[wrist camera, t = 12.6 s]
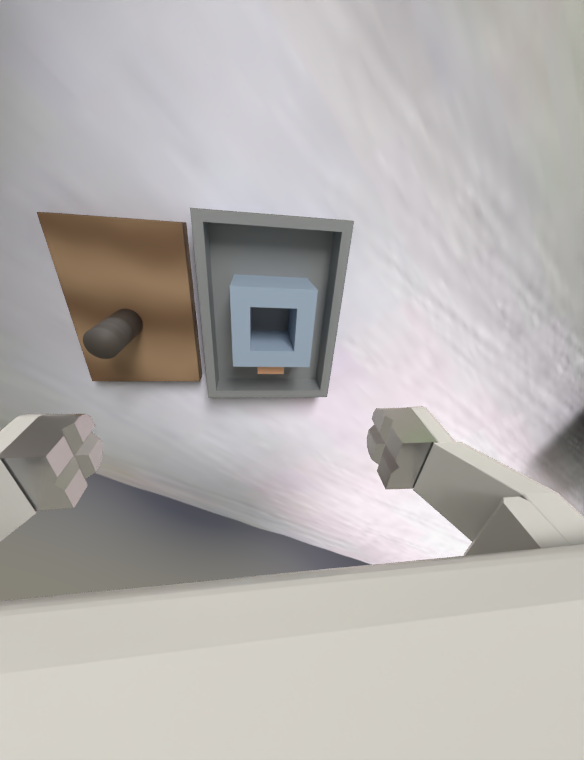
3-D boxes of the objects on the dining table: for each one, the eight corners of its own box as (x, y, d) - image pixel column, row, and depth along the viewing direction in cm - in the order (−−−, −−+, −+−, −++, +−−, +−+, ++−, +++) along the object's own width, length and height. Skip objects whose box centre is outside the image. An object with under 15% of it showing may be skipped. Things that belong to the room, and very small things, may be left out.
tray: (197, 209, 22) (190, 207, 20) (343, 220, 24) (353, 220, 21) (212, 382, 30) (208, 397, 28) (321, 382, 32) (326, 396, 29)
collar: (234, 274, 24) (229, 286, 20) (307, 277, 25) (317, 290, 21) (237, 357, 28) (233, 382, 24) (300, 358, 29) (307, 382, 25)
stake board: (50, 212, 21) (-23, 210, 16) (186, 222, 23) (163, 223, 17) (99, 373, 28) (61, 411, 23) (202, 374, 30) (189, 410, 24)
